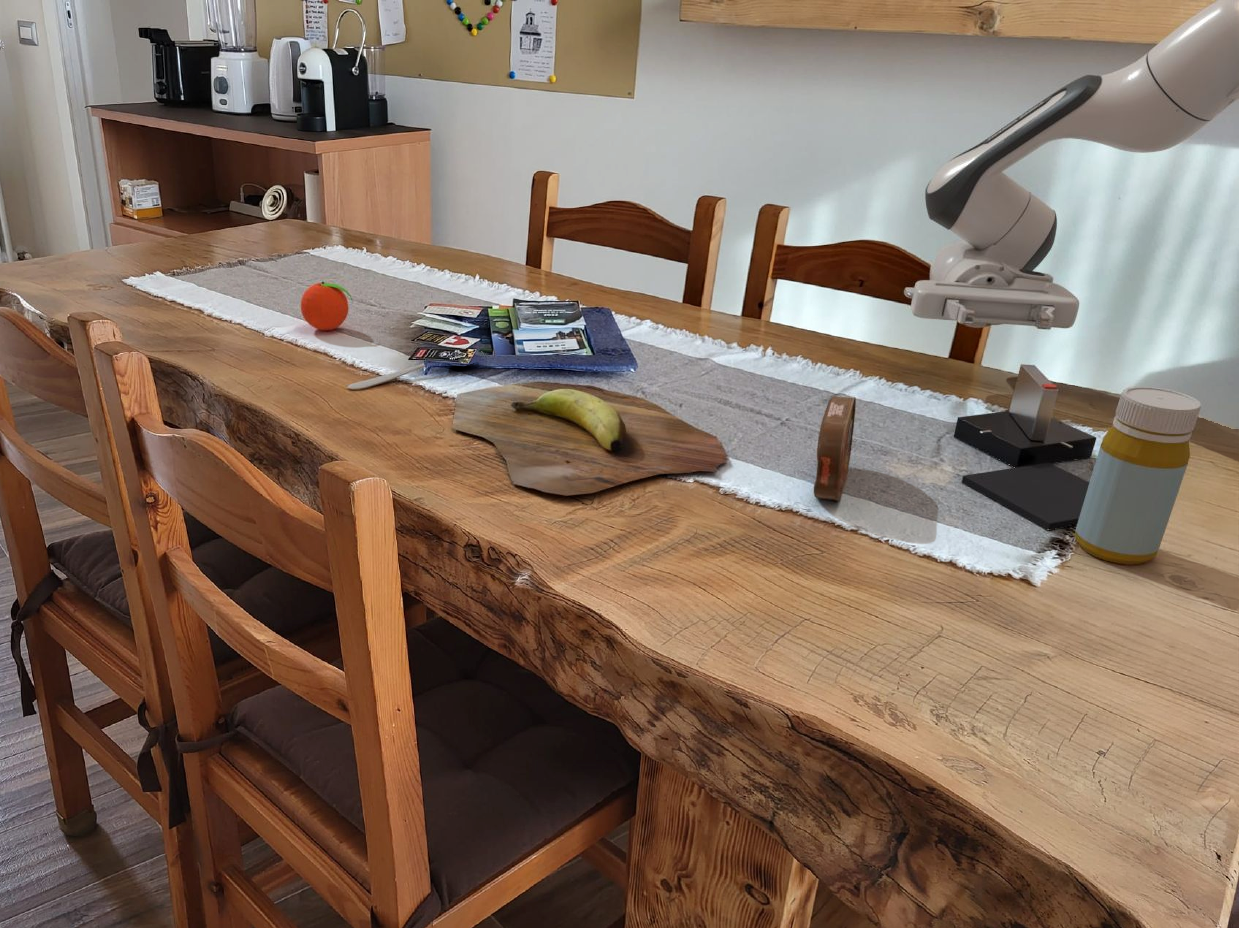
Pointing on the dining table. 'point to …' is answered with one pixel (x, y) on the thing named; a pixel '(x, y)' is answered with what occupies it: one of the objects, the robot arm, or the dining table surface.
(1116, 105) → the robot arm
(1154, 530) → the bottle
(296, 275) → the dining table surface
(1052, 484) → the mat
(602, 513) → the dining table surface
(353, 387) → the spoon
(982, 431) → the base
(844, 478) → the tin
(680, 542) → the dining table surface
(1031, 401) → the tap lever
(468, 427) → the cutting board
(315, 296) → the clementine
